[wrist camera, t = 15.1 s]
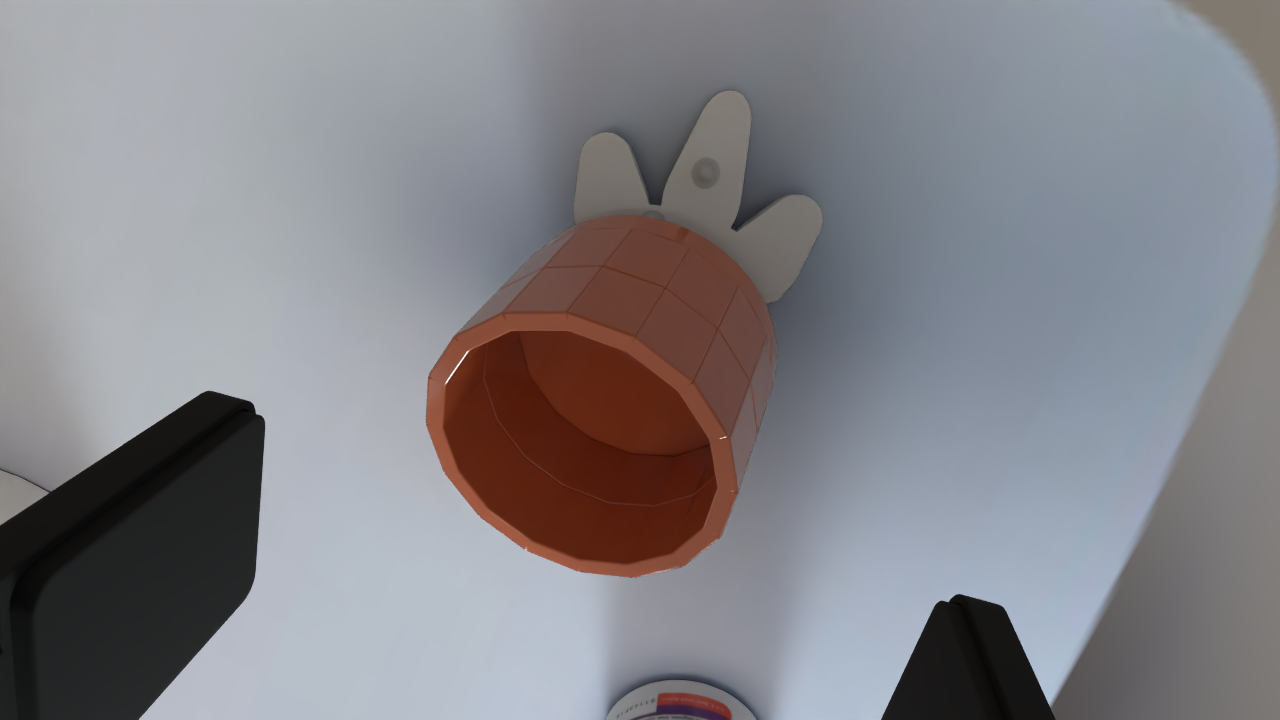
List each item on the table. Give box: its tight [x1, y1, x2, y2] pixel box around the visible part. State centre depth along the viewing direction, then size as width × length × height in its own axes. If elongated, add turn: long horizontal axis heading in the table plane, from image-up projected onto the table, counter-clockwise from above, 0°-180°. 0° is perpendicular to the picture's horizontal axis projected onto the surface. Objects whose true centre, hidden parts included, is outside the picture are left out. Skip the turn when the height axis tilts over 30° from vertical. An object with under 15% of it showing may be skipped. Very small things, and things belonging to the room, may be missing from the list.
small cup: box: [426, 215, 777, 578], centre depth 18 cm, size 6×6×4 cm
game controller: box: [573, 90, 823, 304], centre depth 20 cm, size 6×12×3 cm, turn 2°
